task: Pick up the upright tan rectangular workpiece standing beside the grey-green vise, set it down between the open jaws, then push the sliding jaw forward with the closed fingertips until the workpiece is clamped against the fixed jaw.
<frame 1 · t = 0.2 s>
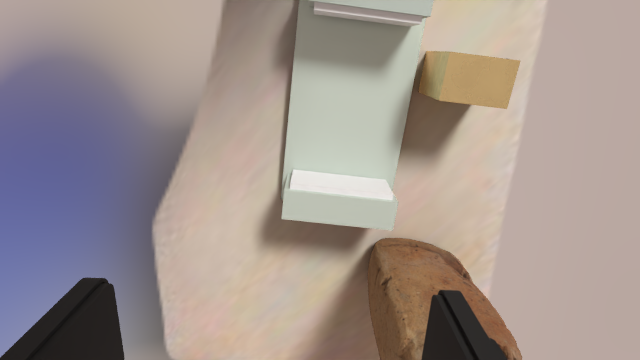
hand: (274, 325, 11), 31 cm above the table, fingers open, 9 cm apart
vise body: (349, 98, 39), on the table
tan rectangular workpiece: (451, 75, 39), on the table
block: (408, 262, 46), on the table
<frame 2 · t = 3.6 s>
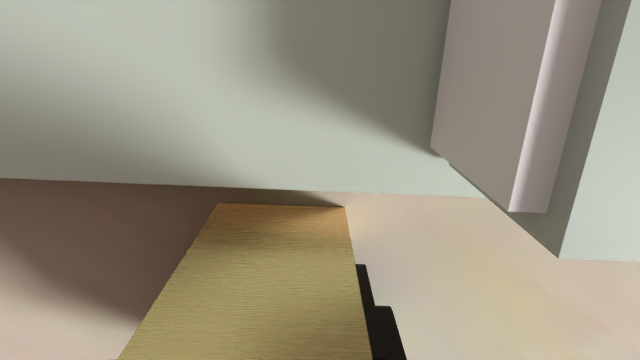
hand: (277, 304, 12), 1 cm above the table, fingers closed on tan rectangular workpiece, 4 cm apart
tan rectangular workpiece: (280, 285, 13), on the table, touching gripper
when the fingers open (4 cm above the table, at t = 8.7 s): tan rectangular workpiece drops 1 cm, resting on vise body.
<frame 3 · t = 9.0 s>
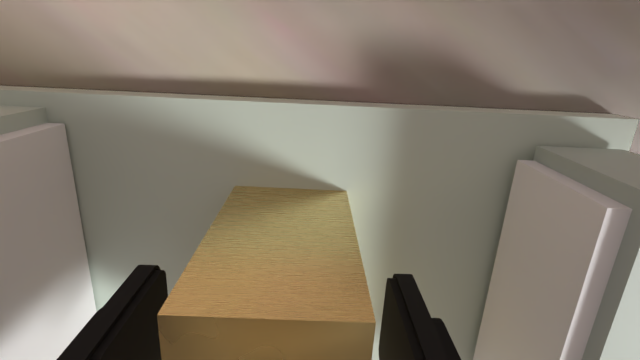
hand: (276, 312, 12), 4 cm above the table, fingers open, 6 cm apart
sliding jaw: (578, 315, 12), point 4 cm above the table, slide at 0.0 cm
vise body: (298, 246, 16), on the table
tan rectangular workpiece: (288, 261, 15), point 1 cm above the table, touching vise body
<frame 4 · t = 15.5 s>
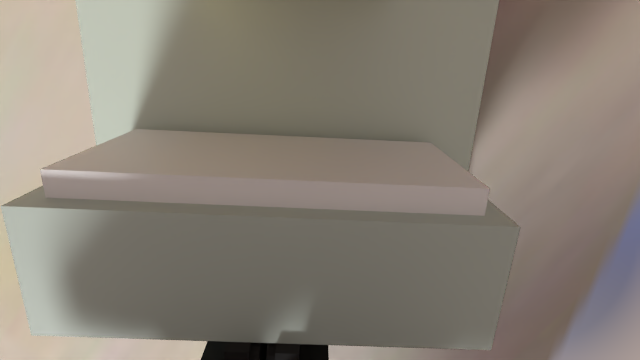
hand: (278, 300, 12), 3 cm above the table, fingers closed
sliding jaw: (276, 221, 10), point 4 cm above the table, slide at 1.4 cm, touching gripper
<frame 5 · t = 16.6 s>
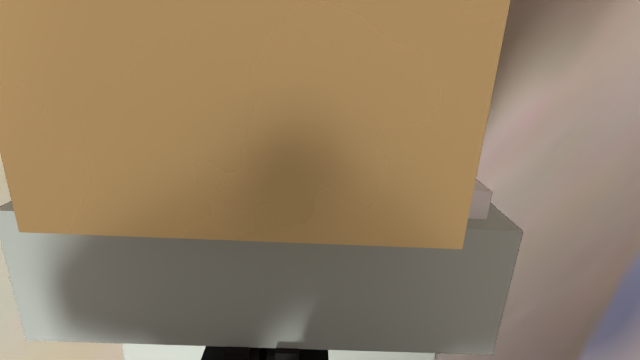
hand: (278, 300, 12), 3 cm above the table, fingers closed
sliding jaw: (275, 223, 10), point 4 cm above the table, slide at 7.5 cm, touching gripper
vise body: (287, 128, 13), on the table
tan rectangular workpiece: (285, 66, 11), point 1 cm above the table
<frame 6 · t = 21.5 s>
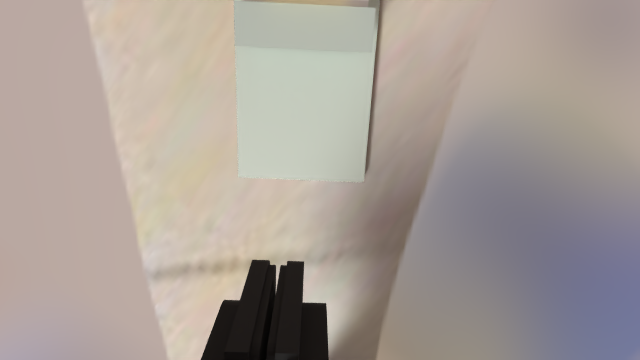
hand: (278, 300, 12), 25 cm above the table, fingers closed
sliding jaw: (305, 24, 29), point 4 cm above the table, slide at 11.3 cm, touching tan rectangular workpiece
vise body: (305, 53, 34), on the table
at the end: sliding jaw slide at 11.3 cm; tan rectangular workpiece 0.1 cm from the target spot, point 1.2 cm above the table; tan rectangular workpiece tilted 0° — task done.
